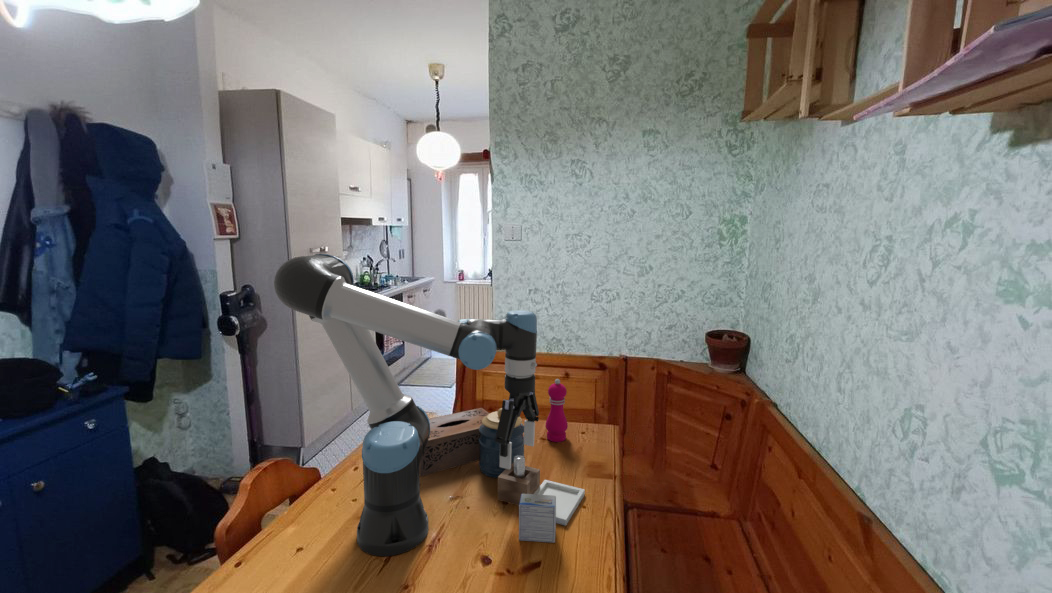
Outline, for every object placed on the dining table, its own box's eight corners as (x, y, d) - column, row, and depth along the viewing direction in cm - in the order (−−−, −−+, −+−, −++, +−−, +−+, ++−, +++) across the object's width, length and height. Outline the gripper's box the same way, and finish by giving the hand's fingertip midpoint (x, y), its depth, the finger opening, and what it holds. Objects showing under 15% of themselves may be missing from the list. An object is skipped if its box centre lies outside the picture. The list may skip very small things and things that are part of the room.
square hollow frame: (497, 499, 114) (497, 477, 113) (512, 484, 121) (512, 462, 120) (526, 507, 110) (527, 484, 109) (539, 491, 117) (540, 469, 117)
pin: (511, 496, 115) (511, 459, 114) (516, 491, 117) (516, 454, 116) (521, 499, 114) (521, 461, 112) (526, 493, 116) (526, 456, 115)
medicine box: (555, 531, 102) (556, 494, 101) (554, 544, 97) (555, 506, 96) (520, 528, 102) (521, 492, 101) (518, 541, 98) (518, 504, 97)
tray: (522, 513, 108) (522, 507, 108) (544, 484, 121) (544, 479, 120) (565, 525, 103) (566, 519, 103) (584, 494, 116) (584, 489, 116)
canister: (496, 485, 120) (496, 421, 118) (470, 465, 130) (469, 406, 128) (533, 469, 128) (534, 409, 126) (506, 452, 138) (506, 397, 136)
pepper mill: (571, 436, 150) (572, 378, 148) (560, 445, 144) (562, 384, 141) (552, 431, 154) (553, 374, 151) (541, 439, 148) (542, 380, 145)
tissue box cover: (481, 436, 150) (481, 407, 149) (502, 454, 138) (503, 422, 137) (404, 455, 136) (403, 423, 135) (420, 477, 124) (420, 442, 123)
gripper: (510, 391, 99) (508, 482, 101) (552, 364, 121) (549, 439, 124) (481, 385, 102) (479, 474, 104) (527, 360, 124) (525, 434, 127)
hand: (517, 455), depth 114 cm, fingers open, 13 cm apart
